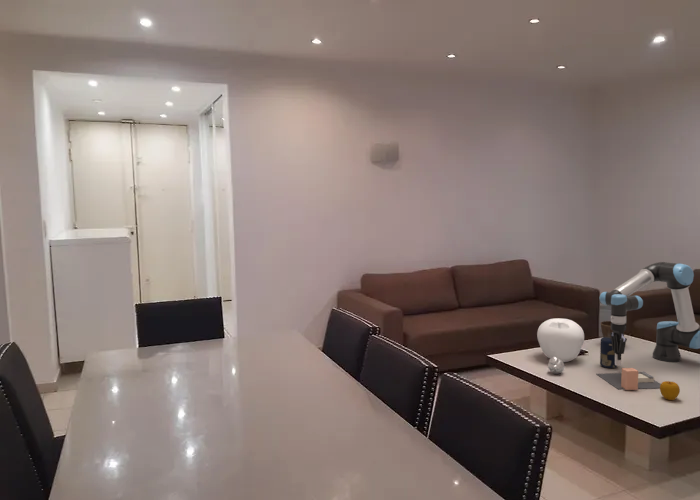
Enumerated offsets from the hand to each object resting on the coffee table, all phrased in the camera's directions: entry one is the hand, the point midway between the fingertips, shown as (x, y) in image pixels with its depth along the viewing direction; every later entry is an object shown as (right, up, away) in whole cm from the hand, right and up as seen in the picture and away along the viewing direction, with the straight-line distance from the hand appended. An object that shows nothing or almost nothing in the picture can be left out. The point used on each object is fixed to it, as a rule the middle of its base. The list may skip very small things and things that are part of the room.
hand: (617, 364), depth 285 cm
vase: (-16, -6, +39) cm, 43 cm away
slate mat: (+7, -9, 0) cm, 11 cm away
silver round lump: (-29, -8, +14) cm, 33 cm away
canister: (+7, -7, +25) cm, 27 cm away
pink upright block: (0, -10, -12) cm, 16 cm away
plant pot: (+30, -2, +65) cm, 71 cm away
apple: (+12, -11, -26) cm, 31 cm away
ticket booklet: (+11, -9, 0) cm, 14 cm away
